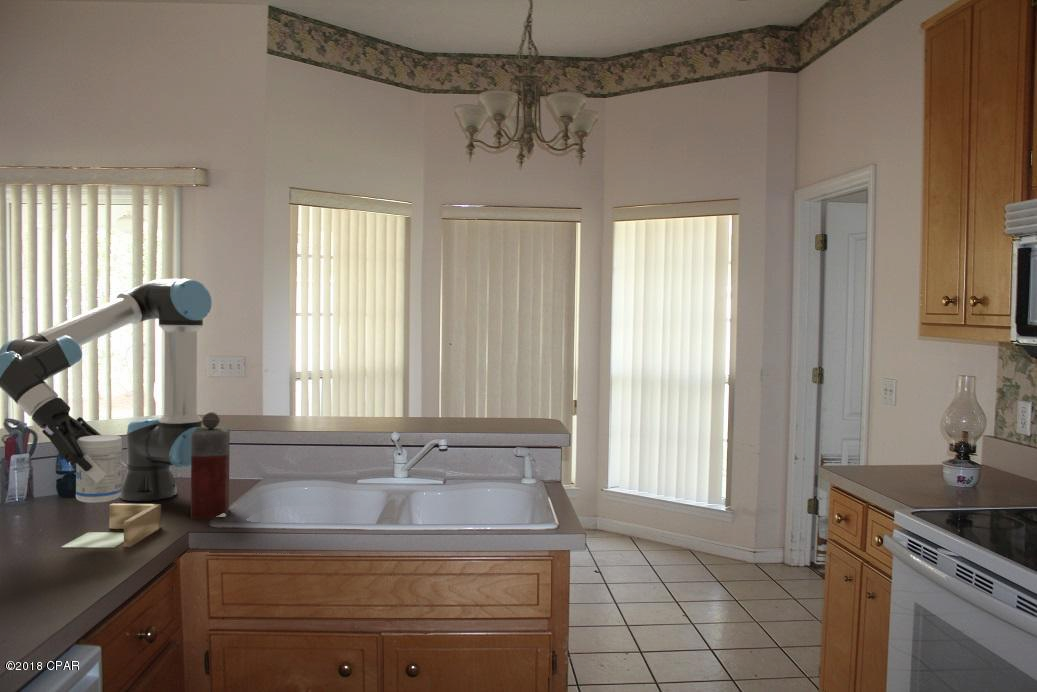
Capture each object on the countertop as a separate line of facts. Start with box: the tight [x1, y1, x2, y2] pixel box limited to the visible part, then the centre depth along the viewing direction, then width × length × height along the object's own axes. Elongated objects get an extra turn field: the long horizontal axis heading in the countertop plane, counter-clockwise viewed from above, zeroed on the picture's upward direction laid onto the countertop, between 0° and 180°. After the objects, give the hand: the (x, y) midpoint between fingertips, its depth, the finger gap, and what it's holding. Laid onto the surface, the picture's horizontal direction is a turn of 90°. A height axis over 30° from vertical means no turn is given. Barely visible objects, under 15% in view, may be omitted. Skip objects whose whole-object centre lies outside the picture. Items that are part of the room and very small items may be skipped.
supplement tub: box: [75, 434, 123, 504], centre depth 180 cm, size 10×10×15 cm
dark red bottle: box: [190, 411, 231, 520], centre depth 208 cm, size 9×11×28 cm
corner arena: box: [60, 503, 162, 549], centre depth 184 cm, size 15×18×6 cm
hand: (112, 474), depth 180 cm, fingers closed on supplement tub, 9 cm apart
